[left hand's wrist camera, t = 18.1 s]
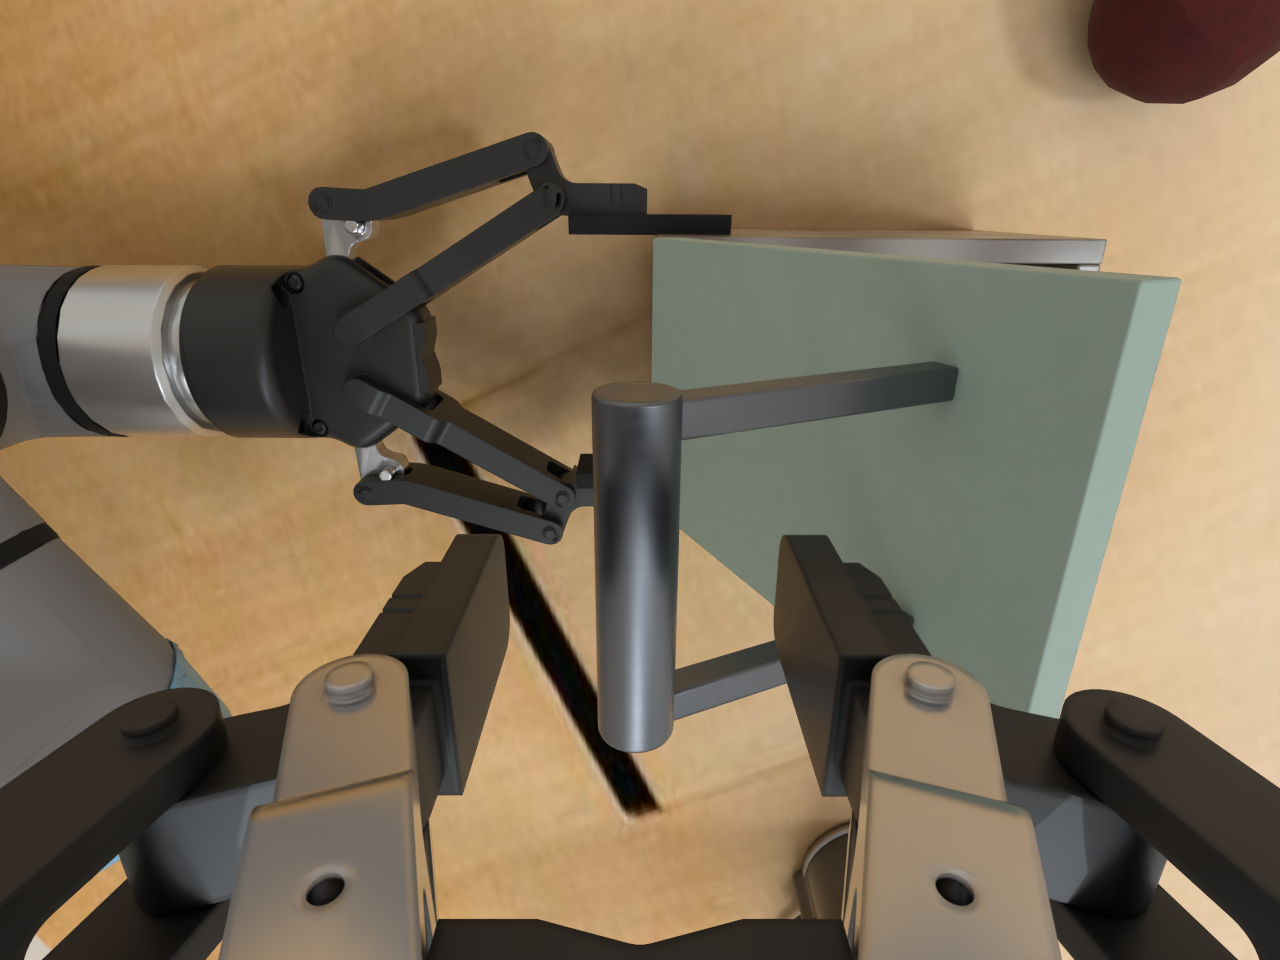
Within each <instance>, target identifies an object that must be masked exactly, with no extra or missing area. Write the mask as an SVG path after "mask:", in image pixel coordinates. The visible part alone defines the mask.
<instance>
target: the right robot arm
mask: <svg viewBox="0 0 1280 960" xmlns="http://www.w3.org/2000/svg"><path fill="white" fill-rule="evenodd" d="M526 175H528V177H529V180H530V182H531V185H532V188H533V190H534V191H533V192H532V193H530V194H529V195H527V196H526V197H524V198H523V199H521V200H520V201H518V202H517V203H515V204H514V205H512V206H511V207H509V208H508V209H506V210H505V211H503V212H502V213H500V214H499V215H497V216H496V217H494V218H493V219H491V220H490V221H488V222H487V223H485V224H484V225H482V226H481V227H479V228H478V229H476V230H475V231H473V232H472V233H470V234H469V235H467V236H466V237H464V238H463V239H461V240H460V241H458V242H457V243H455V244H454V245H452V246H451V247H449V248H448V249H446V250H445V251H443V252H442V253H440V254H439V255H437V256H436V257H435V258H433V259H432V260H430V261H429V262H427V263H426V264H424V265H423V266H421V267H419V268H418V269H416V270H414V271H412V272H410V273H409V274H407V275H406V276H404V277H402V278H401V279H399V280H398V281H396V282H395V281H393V280H392V279H390V278H389V277H387V276H386V275H385V274H383V273H382V272H380V271H379V270H377V269H376V268H374V267H373V266H372V265H370V264H369V263H367V262H366V261H364V260H363V259H361V258H360V257H358V256H357V253H358V248H359V246H360V245H361V244H362V243H363V242H365V241H368V240H372V239H374V238H376V237H377V235H378V234H379V231H380V220H391V219H398V218H402V217H405V216H409V215H412V214H415V213H417V212H420V211H423V210H426V209H429V208H432V207H435V206H438V205H441V204H444V203H447V202H450V201H453V200H456V199H459V198H461V197H464V196H467V195H470V194H473V193H476V192H479V191H482V190H485V189H488V188H491V187H494V186H497V185H500V184H502V183H505V182H508V181H511V180H514V179H517V178H520V177H523V176H526ZM308 203H309V207H310V209H311V211H312V212H313V214H314V215H316V216H317V217H319V218H321V219H322V224H323V234H324V243H325V252H326V257H324V258H322V259H320V260H319V261H317V262H316V263H314V264H312V265H309V266H235V265H224V266H216V267H213V268H211V269H207V268H205V267H202V266H199V265H102V266H85V267H70V266H30V265H0V450H1V449H4V448H6V447H9V446H11V445H14V444H17V443H19V442H22V441H26V440H31V439H36V438H42V437H74V436H119V437H129V436H136V437H220V436H223V435H226V434H228V435H230V436H233V437H254V438H317V437H329V438H334V439H337V440H340V441H342V442H344V443H346V444H348V445H350V446H353V447H355V451H356V456H357V461H358V466H359V471H360V476H361V480H360V481H359V482H358V483H357V484H356V485H355V487H354V496H355V498H356V499H357V500H358V501H359V502H360V503H362V504H364V505H388V504H407V505H410V506H414V507H417V508H421V509H424V510H428V511H431V512H435V513H438V514H442V515H446V516H449V517H453V518H456V519H460V520H463V521H467V522H470V523H474V524H477V525H481V526H485V527H488V528H492V529H495V530H499V531H502V532H506V533H509V534H513V535H516V536H520V537H524V538H527V539H531V540H534V541H538V542H541V543H545V544H551V545H552V544H556V543H557V542H559V541H560V540H561V538H562V536H563V532H564V529H565V526H566V524H567V521H568V518H569V516H570V514H571V512H572V511H573V510H574V509H576V508H578V507H582V506H594V491H593V454H580V459H579V463H578V467H577V466H576V465H574V467H573V469H571V468H569V467H568V466H566V465H564V464H562V463H560V462H559V461H557V460H555V459H553V458H552V457H550V456H548V455H546V454H544V453H543V452H541V451H539V450H537V449H535V448H534V447H532V446H530V445H528V444H527V443H525V442H523V441H521V440H519V439H518V438H516V437H514V436H512V435H510V434H509V433H507V432H505V431H503V430H502V429H500V428H498V427H496V426H494V425H493V424H491V423H489V422H487V421H486V420H484V419H482V418H480V417H478V416H477V415H475V414H473V413H471V412H469V411H468V410H466V409H464V408H463V407H461V406H460V404H459V402H458V401H456V400H455V399H454V398H452V397H450V396H448V395H447V394H445V393H443V392H441V391H439V390H438V386H439V385H440V384H441V383H442V378H441V368H440V365H439V362H438V359H437V357H436V354H435V351H434V347H435V341H436V335H437V329H436V319H435V316H431V314H430V312H429V310H428V308H427V307H426V304H428V303H429V302H431V301H432V300H434V299H435V298H437V297H438V296H440V295H442V294H443V293H445V292H446V291H447V290H449V289H450V288H451V287H453V286H454V285H456V284H457V283H459V282H460V281H462V280H463V279H465V278H467V277H468V276H470V275H471V274H473V273H474V272H476V271H477V270H479V269H480V268H482V267H483V266H485V265H486V264H488V263H489V262H491V261H492V260H494V259H496V258H497V257H499V256H500V255H502V254H503V253H505V252H506V251H508V250H509V249H511V248H512V247H514V246H515V245H517V244H518V243H520V242H521V241H523V240H525V239H526V238H528V237H529V236H531V235H532V234H534V233H535V232H537V231H538V230H540V229H541V228H543V227H544V226H546V225H547V224H549V223H551V222H552V221H554V220H555V219H557V218H558V217H560V216H561V215H568V220H569V234H605V235H664V234H710V235H731V216H732V215H700V214H647V189H645V188H643V187H641V186H639V185H636V184H607V183H572V182H570V181H568V180H567V179H566V178H565V177H564V175H563V174H562V172H561V169H560V167H559V164H558V161H557V158H556V156H555V152H554V148H553V146H552V144H551V143H550V142H549V141H548V140H546V139H545V138H544V137H542V136H541V135H540V134H537V133H534V132H530V133H525V134H522V135H519V136H517V137H514V138H511V139H508V140H505V141H502V142H499V143H496V144H494V145H491V146H488V147H485V148H482V149H479V150H476V151H474V152H471V153H468V154H465V155H462V156H459V157H456V158H453V159H451V160H448V161H445V162H442V163H439V164H436V165H433V166H430V167H428V168H425V169H422V170H419V171H416V172H413V173H410V174H407V175H405V176H402V177H399V178H396V179H393V180H390V181H387V182H384V183H382V184H379V185H376V186H373V187H370V188H367V189H346V188H328V187H320V188H315V189H314V190H313V191H311V193H310V195H309V200H308ZM397 428H400V429H402V430H404V431H406V432H408V433H409V434H411V435H413V436H415V437H417V438H419V439H420V440H422V441H425V442H428V443H436V444H439V445H441V446H443V447H445V448H447V449H448V450H450V451H452V452H454V453H456V454H458V455H459V456H461V457H463V458H465V459H467V460H469V461H470V462H472V463H474V464H476V465H478V466H480V467H481V468H483V469H485V470H487V471H489V472H491V473H492V474H494V475H496V476H498V477H500V478H502V479H503V480H505V481H507V482H509V483H511V484H513V485H514V486H516V487H518V488H520V489H522V490H524V491H526V492H527V493H525V492H522V491H519V490H515V489H512V488H508V487H505V486H501V485H498V484H494V483H491V482H487V481H484V480H481V479H477V478H474V477H470V476H467V475H463V474H460V473H456V472H453V471H450V470H446V469H443V468H439V467H436V466H432V465H428V464H422V463H409V462H408V460H407V457H406V456H405V455H404V454H402V453H397V452H392V451H390V450H389V449H387V448H386V447H385V445H384V444H383V441H382V440H383V439H384V438H385V437H387V436H388V435H389V434H391V433H392V432H393V431H395V430H396V429H397ZM191 687H192V688H200V689H204V690H207V691H209V692H211V693H213V694H214V695H215V696H216V697H217V699H218V701H219V704H220V707H221V711H222V715H223V718H228V717H232V716H231V713H230V711H229V709H228V707H227V706H226V705H225V704H224V703H223V702H222V700H221V699H220V698H219V697H218V696H217V695H216V694H215V693H214V691H213V690H212V689H211V688H210V687H209V686H208V684H207V683H206V682H205V681H204V680H203V679H202V678H201V676H200V675H199V674H198V673H197V672H196V671H195V670H194V668H193V667H192V666H191V665H190V664H189V662H188V661H187V660H186V659H185V658H184V655H183V652H182V651H181V650H180V649H179V647H178V645H177V644H176V643H174V642H172V641H170V640H169V639H168V638H166V639H165V638H164V637H163V636H162V635H161V634H160V633H159V632H158V631H156V630H155V629H154V628H153V627H152V626H151V625H150V624H149V623H148V622H147V621H146V620H145V619H144V618H143V617H142V616H141V615H140V614H139V613H138V612H137V611H135V610H134V609H133V608H132V607H131V606H130V605H129V604H128V603H127V602H126V601H125V600H124V599H123V598H122V597H121V596H120V595H119V594H118V593H117V592H115V591H114V590H113V589H112V588H111V587H110V586H109V585H108V584H107V583H106V582H105V581H104V580H103V579H102V578H101V577H100V576H99V575H98V574H97V573H95V572H94V571H93V570H92V569H91V568H90V567H89V566H88V565H87V564H86V563H85V562H84V561H83V560H82V559H81V558H80V557H79V556H78V555H77V554H76V553H74V552H73V551H72V550H71V549H70V548H69V547H68V546H67V545H66V544H65V543H64V542H63V541H62V540H61V539H60V537H59V536H58V534H57V533H56V532H55V531H54V530H53V529H52V528H51V527H50V526H48V525H47V524H46V522H45V521H44V520H43V519H42V518H41V517H40V516H39V515H38V514H37V513H36V512H35V511H34V510H33V509H32V508H31V507H30V506H29V505H28V504H27V503H26V502H25V501H24V500H23V499H22V498H21V497H20V496H19V495H18V494H17V493H16V492H15V491H14V490H13V489H12V488H11V487H10V486H9V485H8V484H7V483H6V482H5V481H4V480H3V479H2V478H1V477H0V788H1V787H3V786H4V785H6V784H7V783H9V782H10V781H11V780H13V779H14V778H16V777H17V776H19V775H20V774H22V773H23V772H24V771H26V770H27V769H29V768H30V767H32V766H33V765H34V764H36V763H37V762H39V761H40V760H42V759H43V758H44V757H46V756H47V755H49V754H50V753H52V752H53V751H54V750H56V749H57V748H59V747H60V746H62V745H63V744H65V743H66V742H67V741H69V740H70V739H72V738H73V737H75V736H76V735H77V734H79V733H80V732H82V731H83V730H85V729H86V728H87V727H89V726H90V725H92V724H93V723H95V722H96V721H98V720H99V719H100V718H102V717H103V716H105V715H106V714H108V713H109V712H111V711H113V710H114V709H116V708H118V707H120V706H122V705H123V704H125V703H127V702H130V701H132V700H134V699H137V698H139V697H142V696H145V695H148V694H151V693H155V692H158V691H162V690H167V689H173V688H191ZM118 860H120V857H119V854H118V855H117V856H116V857H115V858H114V859H113V860H112V861H111V862H109V863H108V864H107V865H106V866H105V867H104V868H103V869H102V870H104V869H106V868H107V867H109V866H111V865H112V864H114V863H115V862H117V861H118ZM102 870H101V871H102Z"/></svg>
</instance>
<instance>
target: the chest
mask: <svg viewBox="0 0 1280 960" xmlns="http://www.w3.org/2000/svg"><path fill="white" fill-rule="evenodd" d="M667 237H680V238H692V239H705V240H717V241H730V242H742V243H754V244H767V245H779V246H791V247H804V248H816V249H828V250H841V251H853V252H865V253H878V254H890V255H902V256H915V257H927V258H939V259H952V260H964V261H976V262H989V263H1001V264H1013V265H1026V266H1038V267H1051V268H1063V269H1075V270H1088V271H1099V270H1100V265H1099V264H1101V263H1102V259H1103V255H1104V251H1105V247H1106V242H1107V240H1106V239H1092V238H1077V237H1063V236H1048V235H1033V234H1019V233H1004V232H989V231H979V230H863V229H731V235H710V234H664V235H658V238H667Z"/></svg>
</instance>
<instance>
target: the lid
mask: <svg viewBox="0 0 1280 960" xmlns="http://www.w3.org/2000/svg"><path fill="white" fill-rule="evenodd" d="M1180 284H1181V279H1179V278H1174V277H1162V276H1149V275H1137V274H1125V273H1112V272H1100V271H1088V270H1075V269H1063V268H1051V267H1038V266H1026V265H1013V264H1001V263H989V262H976V261H964V260H952V259H939V258H927V257H915V256H902V255H890V254H878V253H865V252H853V251H841V250H828V249H816V248H804V247H791V246H779V245H767V244H754V243H742V242H730V241H717V240H705V239H692V238H680V237H667V238H653V291H652V374H651V382H638V381H634V382H619V383H612V384H608V385H604V386H601V387H599V388H597V389H595V390H594V391H593V394H592V442H593V491H594V540H595V589H596V638H597V687H598V728H599V732H600V734H601V736H602V737H603V739H604V740H605V741H606V742H607V743H608V744H609V745H610V746H612V747H614V748H616V749H618V750H621V751H624V752H630V753H642V752H648V751H651V750H654V749H656V748H658V747H660V746H661V745H663V744H664V743H665V742H666V741H667V740H668V739H669V737H670V735H671V733H672V731H673V724H674V720H677V719H680V718H683V717H686V716H689V715H692V714H695V713H698V712H701V711H704V710H707V709H710V708H713V707H716V706H719V705H722V704H725V703H729V702H732V701H735V700H738V699H741V698H744V697H747V696H750V695H753V694H756V693H759V692H762V691H765V690H768V689H771V688H774V687H777V686H780V685H783V684H786V683H787V681H786V678H785V675H784V672H783V669H782V665H781V662H780V659H779V656H778V652H777V649H776V644H775V640H774V641H770V642H767V643H764V644H760V645H757V646H754V647H750V648H747V649H743V650H740V651H737V652H733V653H730V654H727V655H723V656H720V657H717V658H713V659H710V660H706V661H703V662H700V663H696V664H693V665H690V666H686V667H683V668H680V669H676V670H675V655H676V621H677V587H678V552H679V528H680V529H681V530H682V531H683V532H685V533H686V534H687V535H688V536H689V537H691V538H692V539H693V540H694V541H696V542H697V543H698V544H699V545H700V546H702V547H703V548H704V549H705V550H706V551H708V552H709V553H710V554H711V555H713V556H714V557H715V558H716V559H717V560H719V561H720V562H721V563H722V564H724V565H725V566H726V567H727V568H728V569H730V570H731V571H732V572H733V573H735V574H736V575H737V576H738V577H739V578H741V579H742V580H743V581H744V582H746V583H747V584H748V585H749V586H750V587H752V588H753V589H754V590H755V591H757V592H758V593H759V594H760V595H761V596H763V597H764V598H765V599H766V600H768V601H769V602H770V603H771V604H772V605H774V606H775V594H776V582H777V569H778V557H779V546H780V541H781V538H782V536H783V535H827V536H828V537H829V539H830V541H831V543H832V544H833V546H834V548H835V550H836V551H837V553H838V555H839V556H840V558H841V560H842V562H843V563H860V564H861V565H863V566H864V567H866V568H867V569H869V570H870V571H872V572H873V573H875V574H876V575H877V576H879V577H880V578H881V579H882V581H883V582H884V584H885V585H886V587H887V588H888V590H889V591H890V593H891V594H892V599H895V600H896V602H897V603H898V605H899V607H900V608H901V610H902V614H905V616H906V617H907V619H908V620H909V622H910V623H911V625H912V626H913V628H914V629H915V631H916V633H917V634H918V636H919V637H920V639H921V640H922V642H923V643H924V645H925V646H926V648H927V649H928V651H929V652H930V654H931V655H932V657H936V658H940V659H943V660H946V661H948V662H951V663H953V664H955V665H957V666H959V667H961V668H963V669H965V670H966V671H968V672H969V673H970V674H972V675H973V676H974V677H975V678H977V679H978V680H979V681H980V683H981V684H982V685H983V686H984V688H985V689H986V691H987V693H988V696H989V700H990V703H992V704H995V705H998V706H1001V707H1005V708H1009V709H1013V710H1018V711H1023V712H1028V713H1033V714H1038V715H1043V716H1047V717H1052V718H1057V719H1058V718H1059V714H1060V711H1061V707H1062V703H1063V700H1064V696H1065V693H1066V689H1067V686H1068V682H1069V679H1070V675H1071V672H1072V668H1073V664H1074V661H1075V657H1076V654H1077V650H1078V647H1079V643H1080V640H1081V636H1082V632H1083V629H1084V625H1085V622H1086V618H1087V615H1088V611H1089V608H1090V604H1091V601H1092V597H1093V593H1094V590H1095V586H1096V583H1097V579H1098V576H1099V572H1100V569H1101V565H1102V561H1103V558H1104V554H1105V551H1106V547H1107V544H1108V540H1109V537H1110V533H1111V529H1112V526H1113V522H1114V519H1115V515H1116V512H1117V508H1118V505H1119V501H1120V498H1121V494H1122V490H1123V487H1124V483H1125V480H1126V476H1127V473H1128V469H1129V466H1130V462H1131V458H1132V455H1133V451H1134V448H1135V444H1136V441H1137V437H1138V434H1139V430H1140V427H1141V423H1142V419H1143V416H1144V412H1145V409H1146V405H1147V402H1148V398H1149V395H1150V391H1151V387H1152V384H1153V380H1154V377H1155V373H1156V370H1157V366H1158V363H1159V359H1160V355H1161V352H1162V348H1163V345H1164V341H1165V338H1166V334H1167V331H1168V327H1169V324H1170V320H1171V316H1172V313H1173V309H1174V306H1175V302H1176V299H1177V295H1178V292H1179V288H1180Z"/></svg>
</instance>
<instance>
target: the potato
mask: <svg viewBox="0 0 1280 960" xmlns="http://www.w3.org/2000/svg"><path fill="white" fill-rule="evenodd" d="M1088 47H1089V51H1090V55H1091V59H1092V62H1093V66H1094V69H1095V70H1096V71H1097V73H1098V74H1099V75H1100V77H1101V78H1102V79H1103V80H1104V82H1105V83H1106V84H1107V86H1108V87H1110V88H1112V89H1114V90H1116V91H1118V92H1121V93H1123V94H1125V95H1127V96H1129V97H1131V98H1133V99H1136V100H1138V101H1141V102H1144V103H1171V104H1183V103H1187V102H1190V101H1193V100H1197V99H1200V98H1202V97H1205V96H1207V95H1210V94H1212V93H1215V92H1217V91H1220V90H1222V89H1225V88H1227V87H1230V86H1232V85H1234V84H1236V83H1237V82H1238V81H1240V80H1241V79H1243V78H1244V77H1245V76H1247V75H1248V74H1249V73H1251V72H1252V71H1253V70H1255V69H1256V68H1257V67H1259V66H1260V65H1261V64H1263V63H1264V62H1265V61H1267V60H1268V59H1269V58H1271V57H1272V56H1274V55H1275V54H1276V53H1278V52H1279V51H1280V0H1094V3H1093V6H1092V11H1091V15H1090V20H1089V26H1088Z"/></svg>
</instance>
